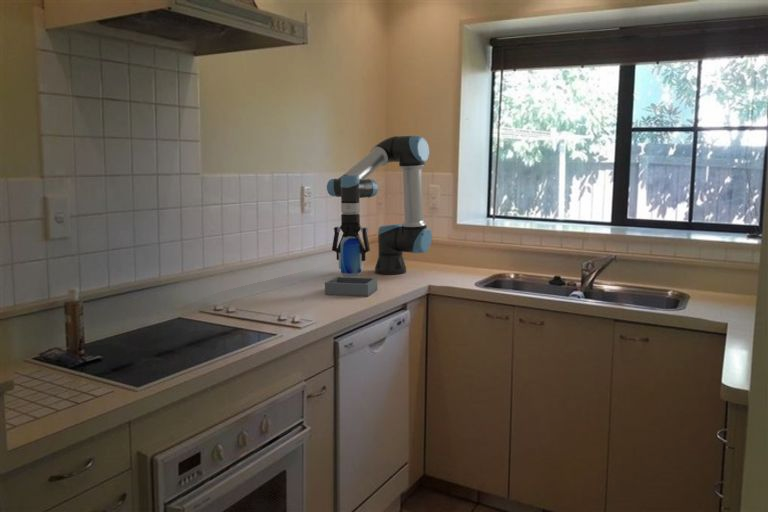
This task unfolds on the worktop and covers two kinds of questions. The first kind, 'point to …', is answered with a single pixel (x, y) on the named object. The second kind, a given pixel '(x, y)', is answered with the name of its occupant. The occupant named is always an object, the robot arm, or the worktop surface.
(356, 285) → the caddy
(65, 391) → the worktop surface
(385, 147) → the robot arm
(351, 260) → the beer can
